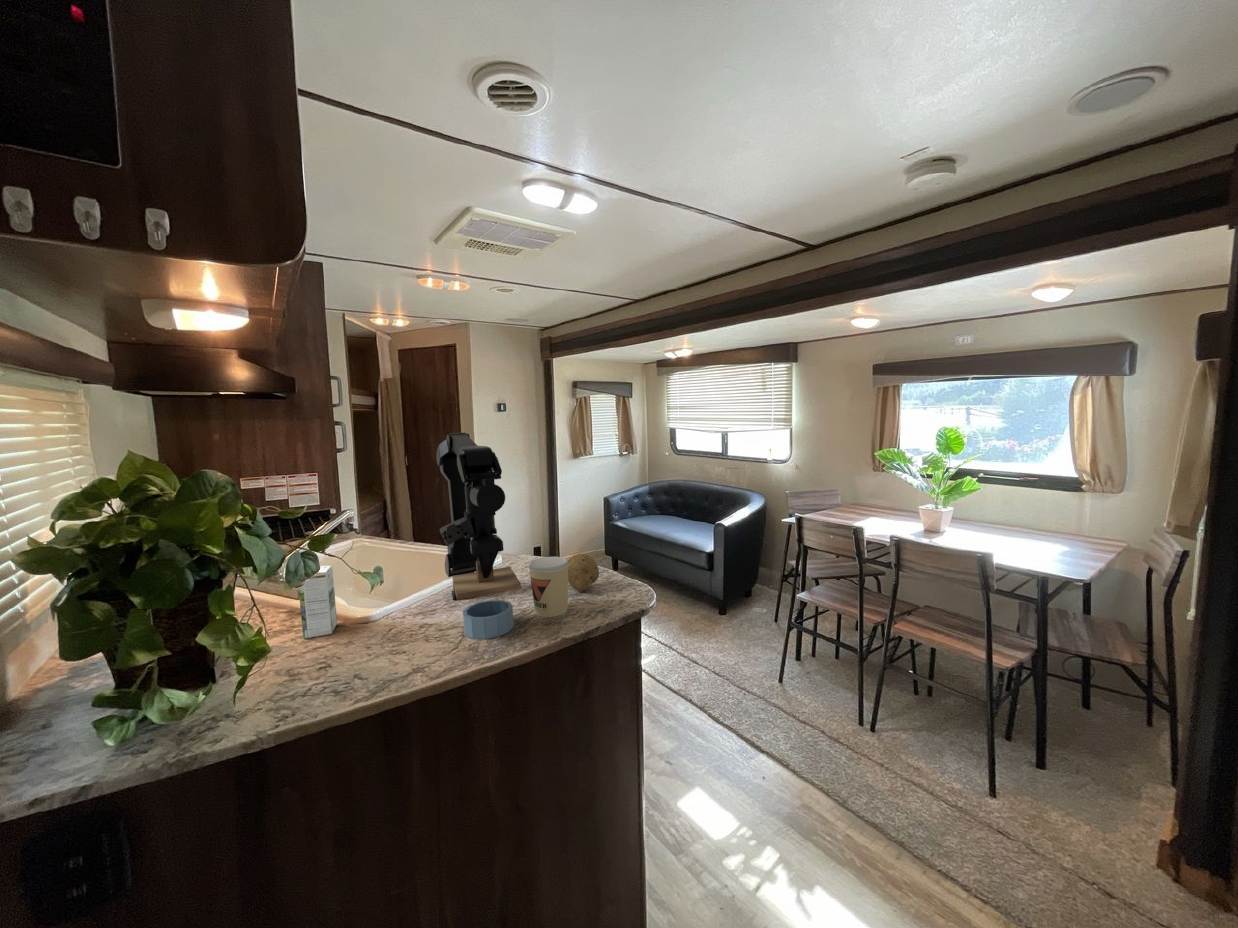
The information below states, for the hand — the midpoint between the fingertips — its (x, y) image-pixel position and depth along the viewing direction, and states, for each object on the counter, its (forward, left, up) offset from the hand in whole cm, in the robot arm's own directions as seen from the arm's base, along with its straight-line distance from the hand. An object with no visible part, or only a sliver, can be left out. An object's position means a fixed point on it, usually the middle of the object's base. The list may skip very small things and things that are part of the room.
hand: (485, 575), depth 105 cm
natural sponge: (-12, +26, -12) cm, 31 cm away
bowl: (0, 0, -12) cm, 12 cm away
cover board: (0, 0, -2) cm, 2 cm away
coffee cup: (-3, +15, -12) cm, 20 cm away
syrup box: (-17, -35, -12) cm, 41 cm away
